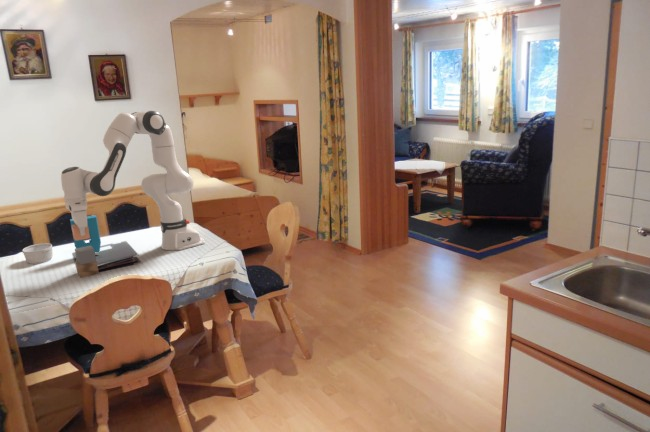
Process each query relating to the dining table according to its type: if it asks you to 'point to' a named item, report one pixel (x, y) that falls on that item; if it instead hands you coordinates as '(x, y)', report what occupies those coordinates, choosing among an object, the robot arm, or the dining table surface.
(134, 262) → the dining table surface
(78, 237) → the terracotta cube
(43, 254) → the ramekin
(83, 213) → the robot arm
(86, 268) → the tower base
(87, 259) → the tower top
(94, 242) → the block
